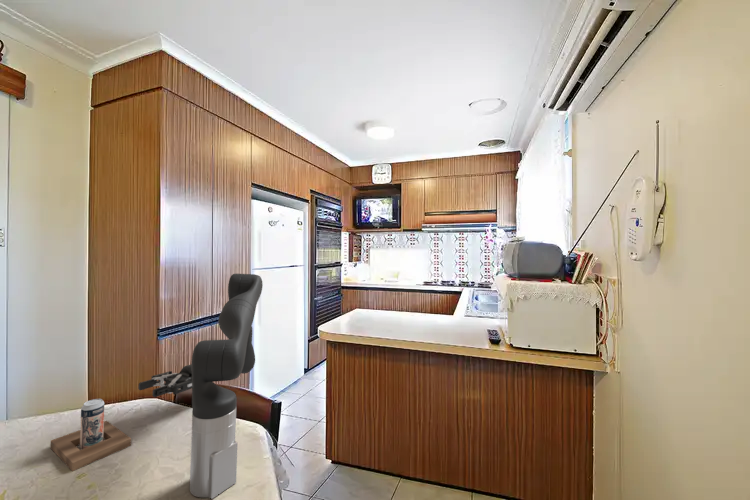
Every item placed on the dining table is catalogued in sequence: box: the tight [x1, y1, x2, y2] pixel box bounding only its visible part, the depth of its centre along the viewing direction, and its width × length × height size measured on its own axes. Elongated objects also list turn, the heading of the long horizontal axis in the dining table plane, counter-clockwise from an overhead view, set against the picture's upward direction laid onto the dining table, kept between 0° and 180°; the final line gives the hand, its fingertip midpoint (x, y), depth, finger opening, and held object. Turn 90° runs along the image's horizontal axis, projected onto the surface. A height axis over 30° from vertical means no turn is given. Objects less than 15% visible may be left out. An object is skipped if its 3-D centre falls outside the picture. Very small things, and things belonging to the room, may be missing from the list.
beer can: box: [79, 398, 105, 450], centre depth 86 cm, size 5×5×12 cm
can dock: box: [49, 420, 132, 472], centre depth 86 cm, size 16×12×2 cm
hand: (145, 390), depth 94 cm, fingers open, 8 cm apart
